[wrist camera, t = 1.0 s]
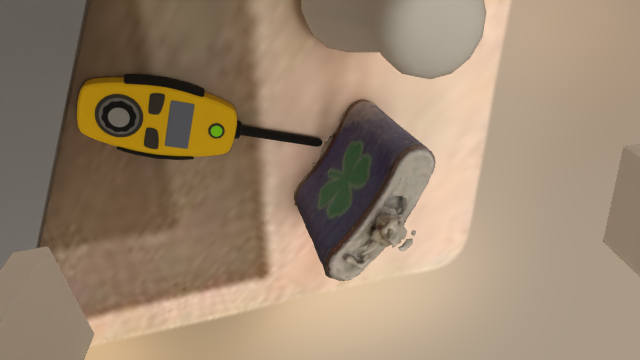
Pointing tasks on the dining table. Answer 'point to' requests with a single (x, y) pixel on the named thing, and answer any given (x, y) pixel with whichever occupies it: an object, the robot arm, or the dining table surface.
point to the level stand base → (33, 109)
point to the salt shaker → (401, 31)
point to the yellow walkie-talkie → (164, 118)
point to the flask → (362, 190)
